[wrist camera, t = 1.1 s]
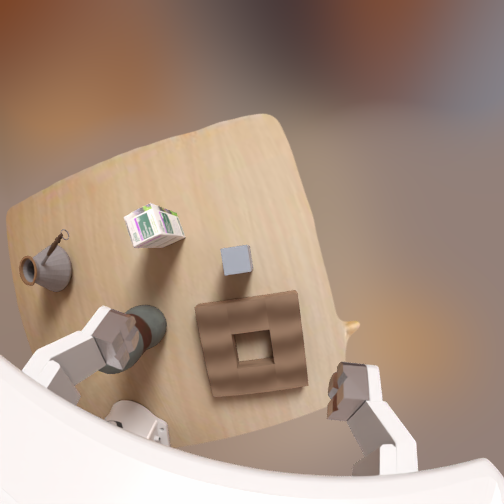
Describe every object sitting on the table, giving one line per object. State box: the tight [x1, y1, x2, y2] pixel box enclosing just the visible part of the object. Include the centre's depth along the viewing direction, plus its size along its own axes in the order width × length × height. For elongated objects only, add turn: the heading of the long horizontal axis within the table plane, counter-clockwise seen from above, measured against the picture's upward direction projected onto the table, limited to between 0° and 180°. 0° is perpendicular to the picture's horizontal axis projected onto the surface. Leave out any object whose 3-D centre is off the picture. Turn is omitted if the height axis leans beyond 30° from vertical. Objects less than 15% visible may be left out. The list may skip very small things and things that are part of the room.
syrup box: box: [124, 203, 185, 248], centre depth 51 cm, size 6×6×14 cm
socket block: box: [195, 290, 308, 397], centre depth 56 cm, size 20×20×4 cm
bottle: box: [98, 305, 167, 374], centre depth 44 cm, size 9×9×30 cm
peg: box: [221, 245, 253, 275], centre depth 53 cm, size 4×4×10 cm
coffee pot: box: [19, 229, 72, 292], centre depth 52 cm, size 21×12×15 cm, turn 119°
